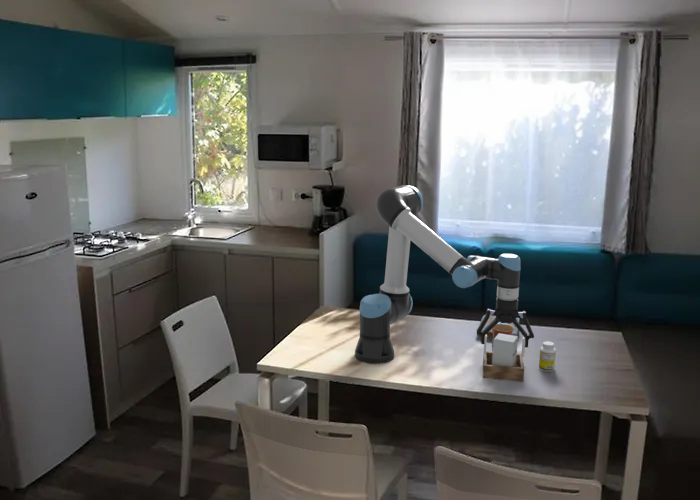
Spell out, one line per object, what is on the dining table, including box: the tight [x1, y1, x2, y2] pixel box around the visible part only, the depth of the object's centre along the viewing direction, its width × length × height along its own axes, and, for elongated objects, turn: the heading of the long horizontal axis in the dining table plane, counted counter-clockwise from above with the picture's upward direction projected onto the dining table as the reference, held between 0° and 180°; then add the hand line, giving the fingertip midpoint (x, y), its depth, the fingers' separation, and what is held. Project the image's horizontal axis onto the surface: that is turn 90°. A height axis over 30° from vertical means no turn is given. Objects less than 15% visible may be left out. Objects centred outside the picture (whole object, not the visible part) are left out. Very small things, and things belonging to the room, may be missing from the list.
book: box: [476, 314, 521, 341], centre depth 281 cm, size 21×16×5 cm
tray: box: [482, 350, 525, 382], centre depth 240 cm, size 14×14×5 cm
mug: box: [491, 324, 514, 352], centre depth 257 cm, size 12×9×10 cm
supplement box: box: [492, 333, 519, 367], centre depth 239 cm, size 7×7×13 cm
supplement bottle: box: [538, 340, 557, 373], centre depth 243 cm, size 6×6×10 cm
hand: (503, 354), depth 239 cm, fingers open, 13 cm apart
